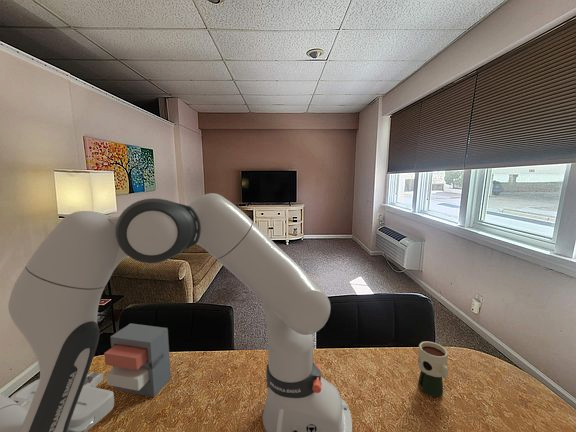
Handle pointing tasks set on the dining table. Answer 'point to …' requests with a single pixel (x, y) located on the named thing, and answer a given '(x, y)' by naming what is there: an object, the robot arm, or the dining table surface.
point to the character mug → (432, 368)
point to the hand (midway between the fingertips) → (98, 374)
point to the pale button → (128, 377)
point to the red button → (126, 356)
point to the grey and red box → (157, 354)
